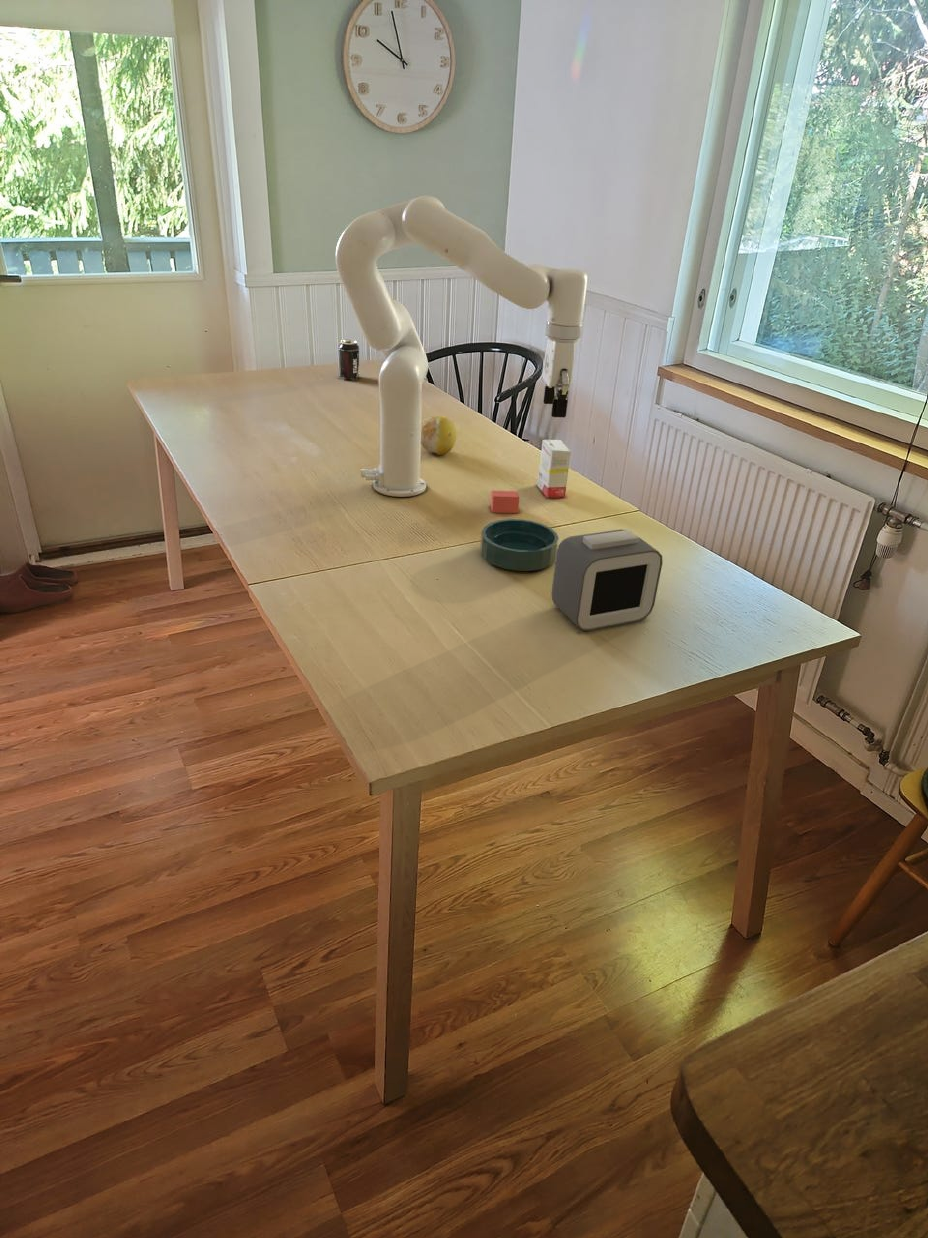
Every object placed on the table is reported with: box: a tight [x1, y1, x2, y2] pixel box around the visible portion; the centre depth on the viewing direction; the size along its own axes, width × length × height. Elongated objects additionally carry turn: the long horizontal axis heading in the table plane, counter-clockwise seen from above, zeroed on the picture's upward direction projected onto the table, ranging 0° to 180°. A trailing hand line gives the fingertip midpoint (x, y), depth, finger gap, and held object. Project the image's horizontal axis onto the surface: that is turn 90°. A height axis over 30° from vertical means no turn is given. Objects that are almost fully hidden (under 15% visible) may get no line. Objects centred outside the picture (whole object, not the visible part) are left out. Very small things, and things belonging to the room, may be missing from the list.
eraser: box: [490, 490, 520, 514], centre depth 193 cm, size 6×3×4 cm, turn 94°
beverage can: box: [337, 339, 360, 381], centre depth 279 cm, size 7×7×12 cm
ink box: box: [536, 439, 572, 499], centre depth 202 cm, size 9×5×12 cm, turn 12°
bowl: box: [479, 518, 560, 572], centre depth 172 cm, size 16×16×5 cm
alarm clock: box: [550, 529, 663, 632], centre depth 152 cm, size 16×11×16 cm
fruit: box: [421, 415, 458, 455], centre depth 221 cm, size 10×11×10 cm
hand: (554, 410), depth 188 cm, fingers open, 9 cm apart
